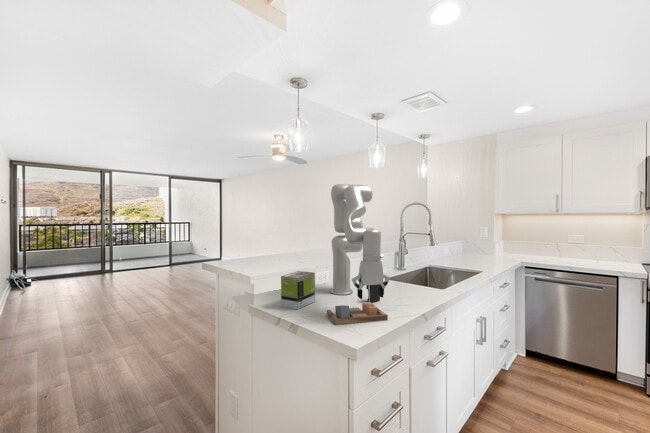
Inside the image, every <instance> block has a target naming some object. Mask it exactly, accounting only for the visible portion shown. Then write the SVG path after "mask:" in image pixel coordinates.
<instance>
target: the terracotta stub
mask: <svg viewBox="0 0 650 433" xmlns="http://www.w3.org/2000/svg"><path fill="white" fill-rule="evenodd" d="M361 307H362V309H361V310H362V311H363V312H364V313H366V314H367V315H368V316H370V315H377V308H378V306H376V305H374V304H373V302H368V301H367V302H365V301H364V302H362V303H361Z"/></svg>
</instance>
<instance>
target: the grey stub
mask: <svg viewBox="0 0 650 433" xmlns="http://www.w3.org/2000/svg"><path fill="white" fill-rule="evenodd" d="M334 308H335V310H334V311H335V316H336V317H337V318H348V317H350V312H349V308H350V305H346V304H345V305H335V307H334Z"/></svg>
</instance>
